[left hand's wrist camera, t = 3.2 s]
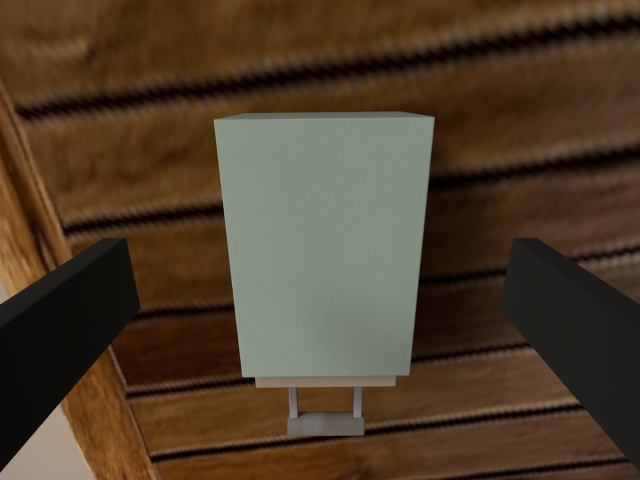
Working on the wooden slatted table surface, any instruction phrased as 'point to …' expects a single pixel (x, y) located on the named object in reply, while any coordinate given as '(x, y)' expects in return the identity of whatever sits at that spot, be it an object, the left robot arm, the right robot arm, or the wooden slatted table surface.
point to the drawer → (325, 420)
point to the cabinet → (325, 238)
